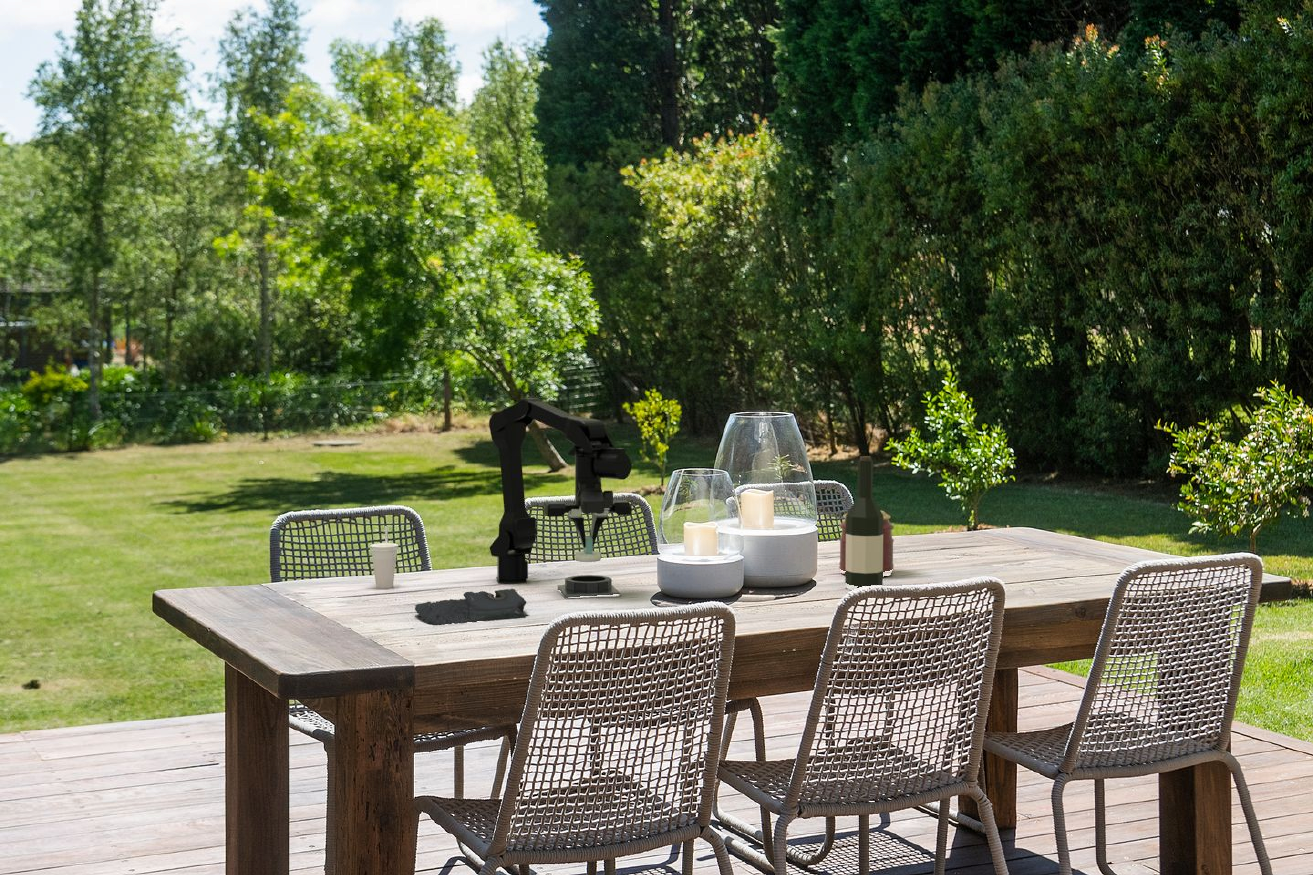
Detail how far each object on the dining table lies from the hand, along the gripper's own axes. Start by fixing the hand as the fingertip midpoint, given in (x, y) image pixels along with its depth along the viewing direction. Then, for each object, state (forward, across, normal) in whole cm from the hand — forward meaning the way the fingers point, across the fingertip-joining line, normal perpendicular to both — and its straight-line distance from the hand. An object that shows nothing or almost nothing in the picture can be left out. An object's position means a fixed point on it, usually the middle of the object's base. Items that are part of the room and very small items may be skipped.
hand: (588, 547), depth 294 cm
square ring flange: (+10, 0, 0) cm, 10 cm away
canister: (+10, +70, +12) cm, 72 cm away
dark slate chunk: (+11, -27, -20) cm, 35 cm away
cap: (+3, 0, 0) cm, 3 cm away
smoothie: (+11, -44, +17) cm, 48 cm away
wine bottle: (+10, +62, -7) cm, 63 cm away
